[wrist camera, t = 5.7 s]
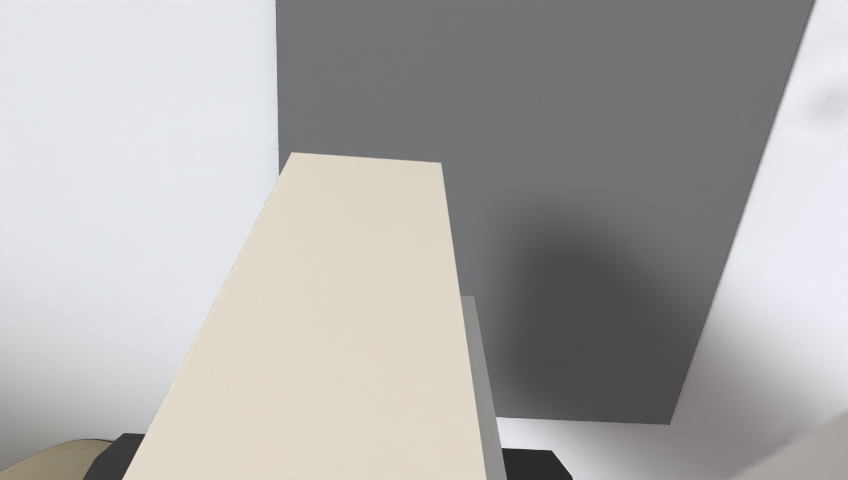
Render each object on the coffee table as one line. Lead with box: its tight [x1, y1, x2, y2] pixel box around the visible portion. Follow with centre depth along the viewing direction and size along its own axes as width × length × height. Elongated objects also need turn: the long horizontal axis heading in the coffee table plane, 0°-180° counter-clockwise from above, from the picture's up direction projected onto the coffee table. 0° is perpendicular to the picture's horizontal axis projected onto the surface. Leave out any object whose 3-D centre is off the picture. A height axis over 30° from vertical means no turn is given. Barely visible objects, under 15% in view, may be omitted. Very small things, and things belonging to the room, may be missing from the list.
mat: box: [276, 0, 813, 425], centre depth 21 cm, size 16×22×1 cm
